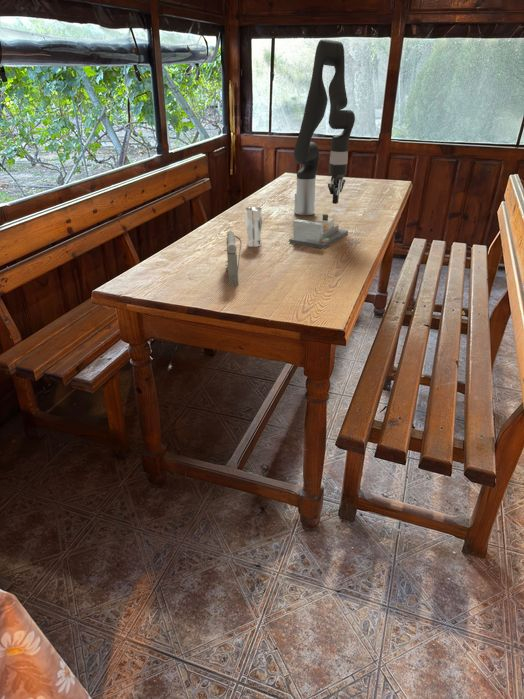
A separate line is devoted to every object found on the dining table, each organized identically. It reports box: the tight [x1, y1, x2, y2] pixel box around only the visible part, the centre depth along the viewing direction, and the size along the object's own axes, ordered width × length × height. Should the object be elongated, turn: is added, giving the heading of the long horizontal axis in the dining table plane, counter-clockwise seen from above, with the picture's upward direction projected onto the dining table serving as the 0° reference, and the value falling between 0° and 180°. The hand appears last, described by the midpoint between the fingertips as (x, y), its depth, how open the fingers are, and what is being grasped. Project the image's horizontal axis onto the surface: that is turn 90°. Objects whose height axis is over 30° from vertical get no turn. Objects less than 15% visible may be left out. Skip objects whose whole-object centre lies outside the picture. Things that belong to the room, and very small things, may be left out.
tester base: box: [288, 225, 349, 249], centre depth 212 cm, size 16×24×4 cm, turn 148°
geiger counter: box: [223, 230, 242, 286], centre depth 171 cm, size 14×6×25 cm
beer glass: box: [244, 206, 263, 248], centre depth 202 cm, size 7×7×15 cm
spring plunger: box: [315, 213, 335, 233], centre depth 214 cm, size 6×6×7 cm
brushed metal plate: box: [292, 219, 323, 244], centre depth 202 cm, size 12×3×8 cm, turn 58°
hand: (335, 203), depth 219 cm, fingers closed
